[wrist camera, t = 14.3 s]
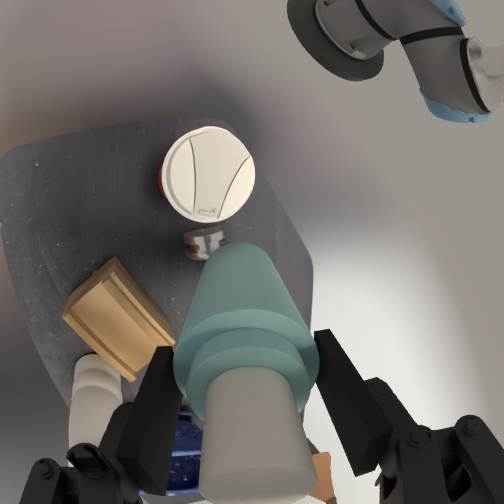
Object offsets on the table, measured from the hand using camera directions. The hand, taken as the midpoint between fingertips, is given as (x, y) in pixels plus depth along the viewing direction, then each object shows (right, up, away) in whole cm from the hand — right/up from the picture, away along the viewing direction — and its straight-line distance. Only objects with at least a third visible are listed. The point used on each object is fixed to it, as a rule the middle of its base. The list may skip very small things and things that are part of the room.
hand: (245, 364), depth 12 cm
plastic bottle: (0, -2, +4) cm, 4 cm away
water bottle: (-22, -12, +20) cm, 32 cm away
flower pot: (-17, -25, +26) cm, 39 cm away
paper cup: (-9, +14, +20) cm, 26 cm away
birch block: (-17, -2, +20) cm, 26 cm away
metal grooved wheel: (-6, +7, +23) cm, 25 cm away
